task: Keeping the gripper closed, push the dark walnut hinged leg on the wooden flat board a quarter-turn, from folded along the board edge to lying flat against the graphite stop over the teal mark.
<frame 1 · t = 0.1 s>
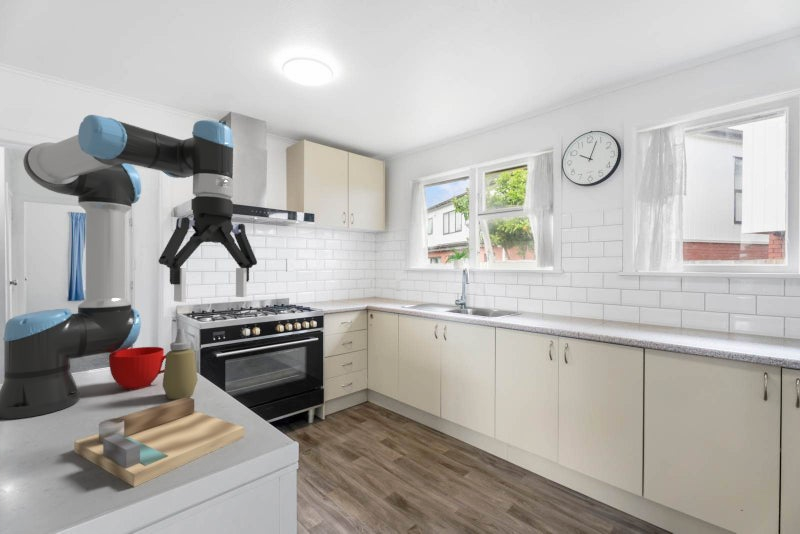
hand: (212, 299, 79), 28 cm above the counter, fingers open, 13 cm apart
squeeze bottle: (180, 397, 100), on the counter
ceramic cup: (145, 386, 109), on the counter
wooden flat board: (162, 444, 73), on the counter
hinged leg: (149, 417, 76), point 4 cm above the counter, hinge at 90.0°
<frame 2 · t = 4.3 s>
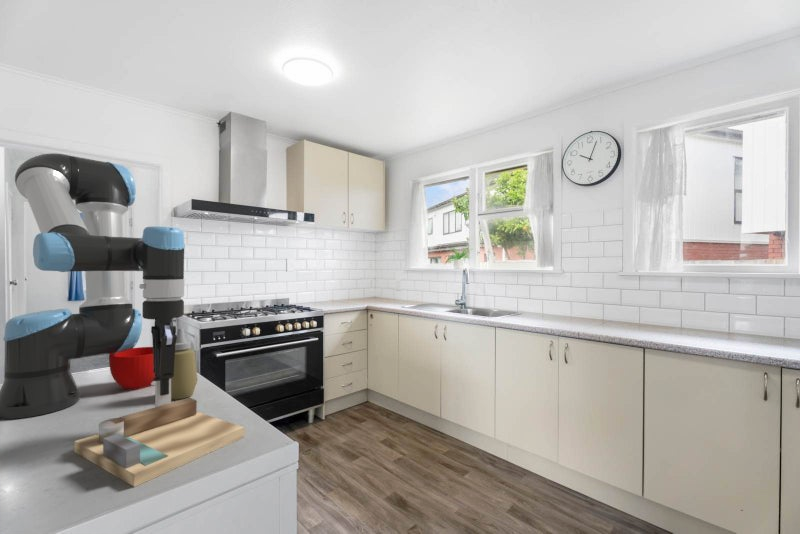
hand: (163, 408, 80), 4 cm above the counter, fingers closed
hinged leg: (150, 418, 76), point 4 cm above the counter, hinge at 85.8°, touching gripper
everything else where it was.
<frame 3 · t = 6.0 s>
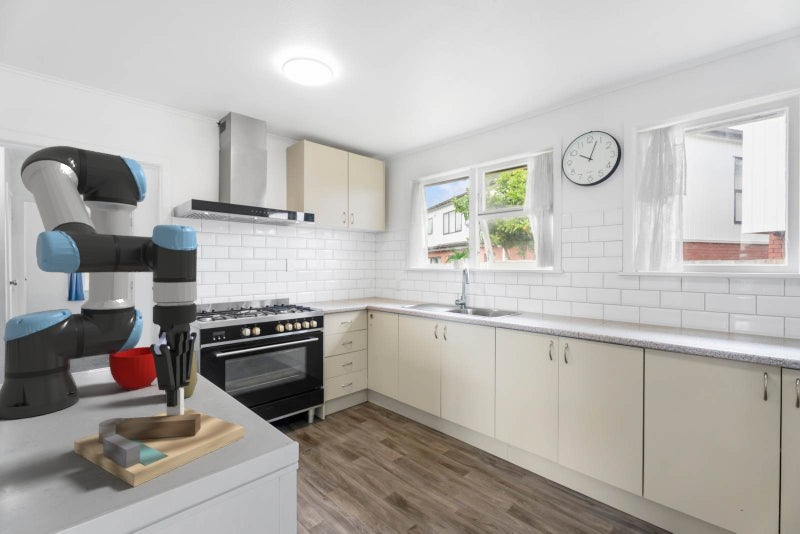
hand: (175, 420, 75), 4 cm above the counter, fingers closed
hinged leg: (150, 427, 72), point 4 cm above the counter, hinge at 40.8°, touching gripper
everything else where it was.
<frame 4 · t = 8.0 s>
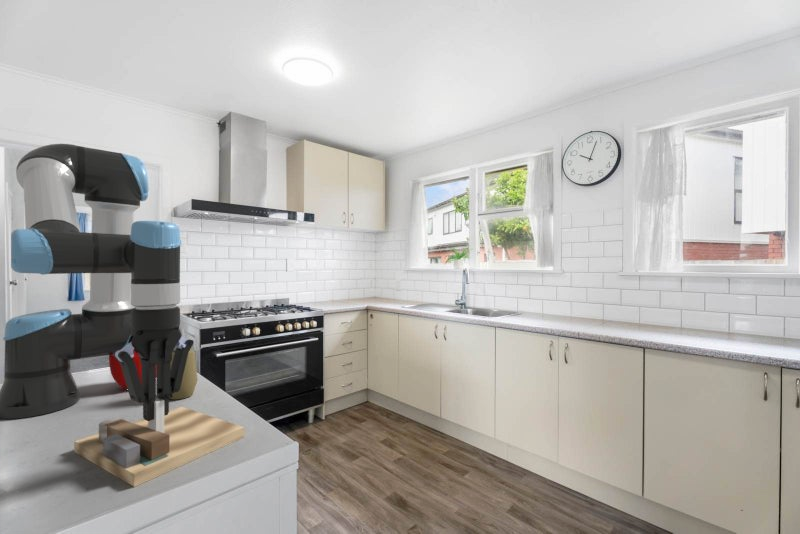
hand: (156, 435, 68), 4 cm above the counter, fingers closed
hinged leg: (132, 436, 68), point 4 cm above the counter, hinge at 3.7°, touching gripper
everything else where it was.
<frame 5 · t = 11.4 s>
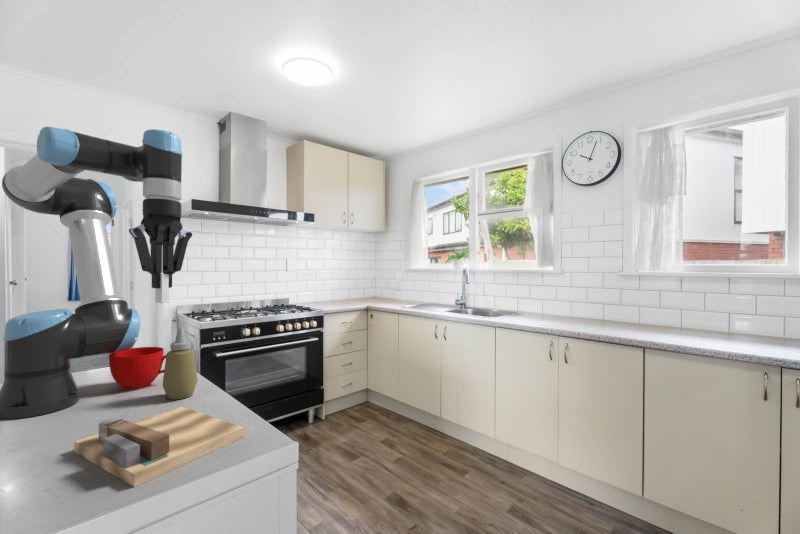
hand: (161, 302, 86), 26 cm above the counter, fingers closed
hinged leg: (132, 437, 68), point 4 cm above the counter, hinge at 3.6°
everything else where it was.
at the end: hinged leg at +4° (first picture: +90°) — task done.
